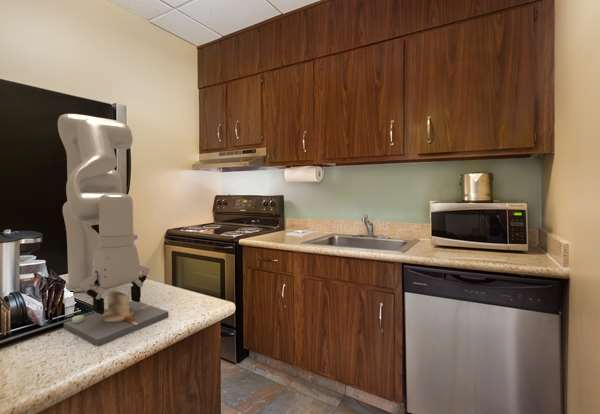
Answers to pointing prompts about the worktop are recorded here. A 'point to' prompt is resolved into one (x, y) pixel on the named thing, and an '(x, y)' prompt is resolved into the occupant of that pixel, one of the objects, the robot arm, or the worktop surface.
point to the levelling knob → (118, 308)
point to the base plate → (113, 323)
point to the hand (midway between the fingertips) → (118, 306)
